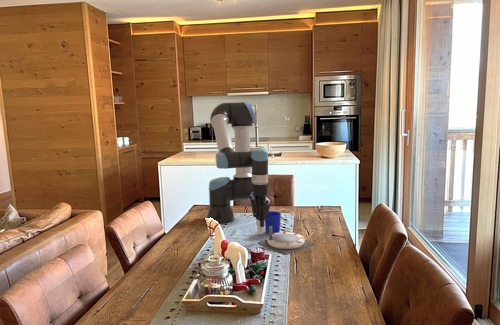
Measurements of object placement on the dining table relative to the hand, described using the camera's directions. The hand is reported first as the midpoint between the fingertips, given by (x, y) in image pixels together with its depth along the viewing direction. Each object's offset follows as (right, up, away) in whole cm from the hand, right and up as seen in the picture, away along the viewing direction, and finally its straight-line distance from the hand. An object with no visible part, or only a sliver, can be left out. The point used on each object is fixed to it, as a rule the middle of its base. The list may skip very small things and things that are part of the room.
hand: (260, 232), depth 175 cm
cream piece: (+12, -5, -2) cm, 13 cm away
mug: (+7, -2, +14) cm, 16 cm away
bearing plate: (+12, -5, -2) cm, 13 cm away
